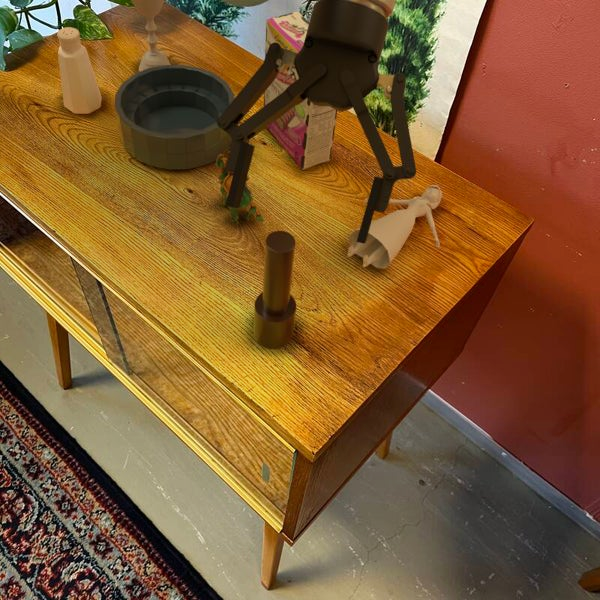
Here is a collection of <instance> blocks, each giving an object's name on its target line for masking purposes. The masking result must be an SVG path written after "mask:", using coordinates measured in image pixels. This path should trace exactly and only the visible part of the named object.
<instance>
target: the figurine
mask: <svg viewBox="0 0 600 600" xmlns="http://www.w3.org/2000/svg"><path fill="white" fill-rule="evenodd" d="M220 156H221V157H220ZM219 157H220V158H219ZM226 162H227V157H225V154H220V155H219V156H218V157H217V159H216V160H215V166H216V167H219V175H218V179H217V178H214V181H215V182H216V183H217V184H218V185H219V184H220V188H219V191H220V193H221V196H222V197H223V202H222V203H220V206H223V207H228V210H229V212H230V213H231V214H232V217H231V218H229V220H230V222H232V223H236V225H239V221H238V219H239V213H238V209H243V208H244V209H245V210H246V212H243V213H241V216H242V217H243V218H245V219H246V221H249V220H250V217H249V216H250V215H251V214H252V215H253V216H254V217H255V218H256V219H257V220H258V221H260V222H261V223H264V222H265V220H264V218H263V217H262V213H261V212H260V210H259V209H257V206H256V203H255V201H254V198H253V196H254V195H255V193H254V192H252V190H251V188H250V187H249V186H248V183H247V182H248V181H249V180H250V175H249V174H248V175H247V179H246V183H245V187H244V191H243V195H242V199H241V203H240V207H239V208H232V207H229V206H226V202H227V198H228V194H229V190H230V186H231V182H232V178H233V174H234V173H232V172H229V171H226ZM233 216H234V217H233Z"/></svg>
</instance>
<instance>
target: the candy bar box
mask: <svg viewBox="0 0 600 600" xmlns="http://www.w3.org/2000/svg"><path fill="white" fill-rule="evenodd" d="M309 22H310V21H308V19H307V18H305V16H303V15H302V13H300V12H299V10H297V11H293V12H290V13H285V14H282V15H279V16H272V17H270V18H268V19H266V20H265V24H266V25H265V48H264V49H265V50H264V58H265V57H266V54H267V51H268V49H269V46H270V45H271V44H272V43H274V42H275V43H278V44H279V45H280V46H281V47H282V48H284V49H286V50H289V51H292V52H294V53H298V52H299V51H300V50H301V49H302V47H303V45H304V41H305V37H306V33H307V29H308V26H309ZM298 79H299V77H298V74H297V72H296V69H295V66H294V65H291V66H289V67H288V68H287V69H286V71H284V72H279V74H278V75H277V77H276V78H275V80H274V81H273V82H272V84H271V85H270V86H269V87H268V88H267V90H266V91H265V92H264V93H263V107H264V106H265V105H267V104H268V103H269V102H271V101H272V100H273V99H275V98H276V97H277V96H279V95H280V94H281V93H283V92H284V91H285V90H286V88H287V87H288V86H290V85H291V84H292V83H294V82H295V81H296V80H298ZM337 115H338V111H337V110H335V109H333V108H331V107H330V106H318V105H314V104H313V103H312V102H310V101H309V100H308V98H307V99H306V100H304V101H303V102H302V103H300V104H299V105H296V106H294V107H293V108H292V109H290V110H289V111H288V112H286V113H285V114H284V115H282V116H281V117H280V118H278V119H277V120H276V121H274V122H273V123H272V124H270V125H269V126H268V127H266V128H265V129H266V130H267V131H268V132H269V133H270V134H271V136H272V137H273V138H274V139H275V140H276V141H277V142H278V144H279V145H280V146H281V147H282V148H283V149H284V151H285V152H286V153H287V154H288V155H289V157H291V159H292V160H293V161H294V162H295V163H296V165H297V166H298V167H299V168H300V170H302V171H304V170H308V169H311V168H313V167H315V166H319V165H322V164H324V163H327V162H330V161H331V158H332V151H333V144H334V136H335V130H336V122H337Z"/></svg>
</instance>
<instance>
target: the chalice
mask: <svg viewBox="0 0 600 600" xmlns="http://www.w3.org/2000/svg"><path fill="white" fill-rule="evenodd" d="M130 2H131V3H132V5H133V6H134V8H135V9H136V10H137V12H138V13H139V15H140V16H141V17H145V18H146V25H145V27H144V28H145V30H146V31H147V33H148V36H147V37H146V38H145V40H146V42H147V43H148V44H149V49H148V50H147V51H146V52H144V54H143V55H142V56H141V60H140V64H139V66H138V72H141V71H143V70H145V69H148V68H152V67H157V66H163V65H172V64H171V62H170V60H169V59H168V56H167V54H165V52H163V51H162V50H159V49H158V48H157V43H158V42H159V37H158V36H157V35H156V30H157V28H158V27H157V25H156V24H155V20H154V19H155V17H156V16H158V15H159V14H160V12H161V9H162V7H163V5H164V3H165V0H130Z"/></svg>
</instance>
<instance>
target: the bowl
mask: <svg viewBox="0 0 600 600" xmlns="http://www.w3.org/2000/svg"><path fill="white" fill-rule="evenodd" d="M235 97H236V96H235V92H234V91H233V90H232V88H231V86H230V84H229V83H228V82H227V81H226V80H225V79H223V78H222V77H221V76H219V75H218V74H217V73H215V72H213V71H209V70H207V69H205V68H202V67H199V66H192V65H187V64H171V65H163V66H157V67H152V68H148V69H145V70H143V71H141V72H139V71H138V72H137V73H134V74H132V75H131V76H129V77H128V78H127V79H125V80H124V81H123V82H122V83H121V84H120V86H119V87H118V89H117V90H116V92H115V94H114V106H113V107H114V112H115V117H116V123H117V129H118V136H119V139H120V141H121V143H122V145H123V146H122V147H123V148H124V150H125V151H126V152H128V153H129V154H130V155H131V157H132V158H134V159H136V160H137V161H139V162H141V163H144V164H146V165H148V166H151V167H154V168H155V167H156V168H160V169H165V170H169V171H171V170H190V169H194V168H199V167H202V166H206V165H209V164H210V163H212V162H214V161H216V160H217V157H218V156H219V155H220V154H223V155H225V154H226V152H227V151H229V150H230V146H231V141H232V140H231V136H230V135H229V134H228V133H227V132H225V131H224V130H222V129H221V128H219V127H218V125H217V120H218V118H219V117H220V116H221V115H222V113H223V112H224V111H225V110H226V108H227V107H228V106H229V105H230V104H231V102H232V101H233V100H234V99H235ZM220 157H222V156H220ZM220 157H219V158H220Z"/></svg>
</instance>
